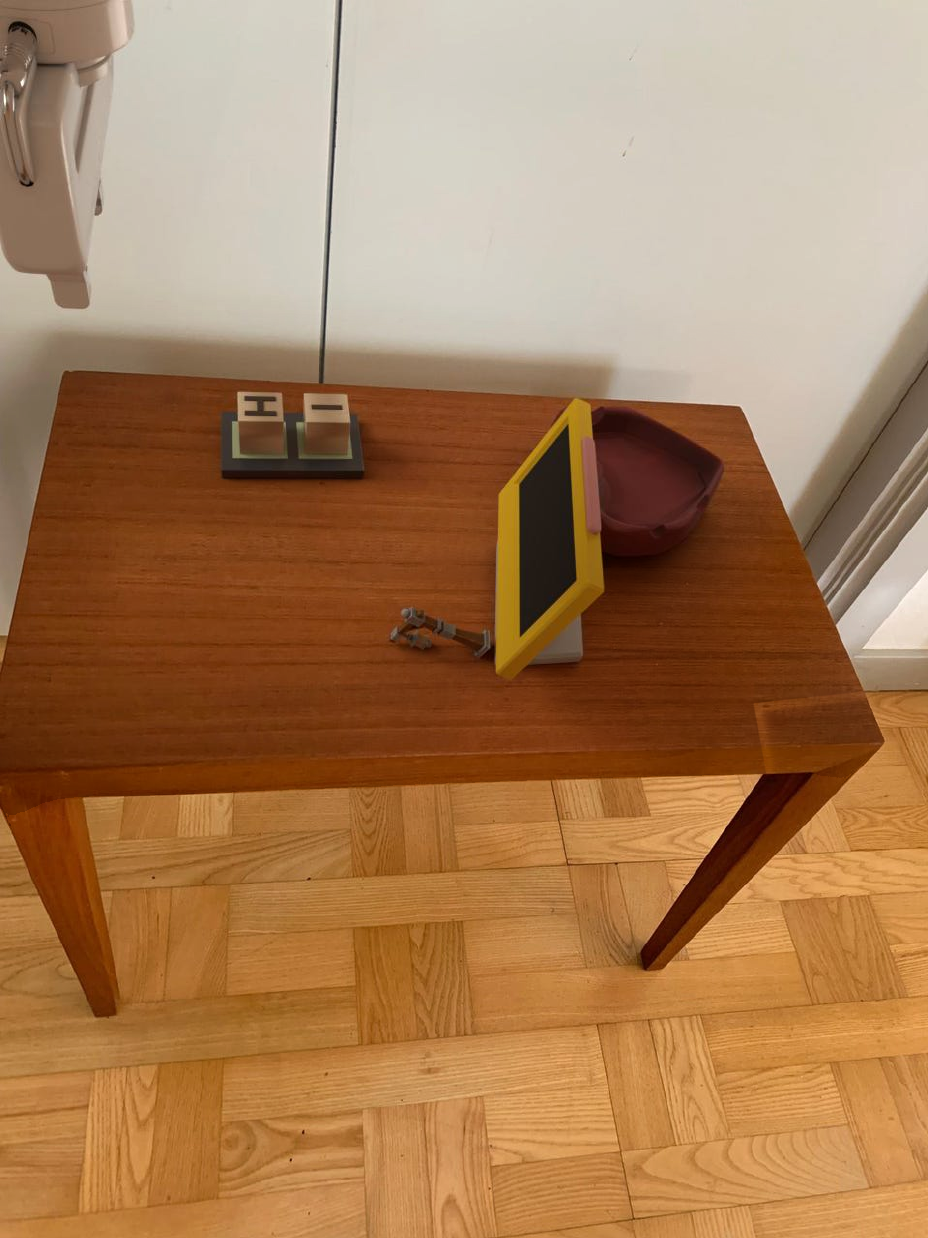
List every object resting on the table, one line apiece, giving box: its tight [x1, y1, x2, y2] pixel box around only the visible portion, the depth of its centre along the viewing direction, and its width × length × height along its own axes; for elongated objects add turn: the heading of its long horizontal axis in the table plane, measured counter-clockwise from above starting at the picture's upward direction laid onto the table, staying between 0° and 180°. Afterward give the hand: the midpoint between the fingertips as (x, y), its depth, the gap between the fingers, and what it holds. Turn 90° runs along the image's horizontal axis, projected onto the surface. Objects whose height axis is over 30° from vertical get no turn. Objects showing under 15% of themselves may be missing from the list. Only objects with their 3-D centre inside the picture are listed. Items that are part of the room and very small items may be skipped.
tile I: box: [302, 392, 350, 455], centre depth 87 cm, size 4×4×4 cm
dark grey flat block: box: [220, 411, 365, 479], centre depth 88 cm, size 13×8×1 cm, turn 99°
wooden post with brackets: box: [388, 606, 491, 659], centre depth 76 cm, size 2×8×4 cm, turn 91°
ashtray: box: [549, 405, 725, 557], centre depth 90 cm, size 18×16×5 cm
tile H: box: [237, 391, 284, 454], centre depth 85 cm, size 4×4×4 cm
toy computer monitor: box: [493, 397, 605, 681], centre depth 75 cm, size 20×8×16 cm, turn 178°
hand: (82, 252), depth 54 cm, fingers open, 8 cm apart
